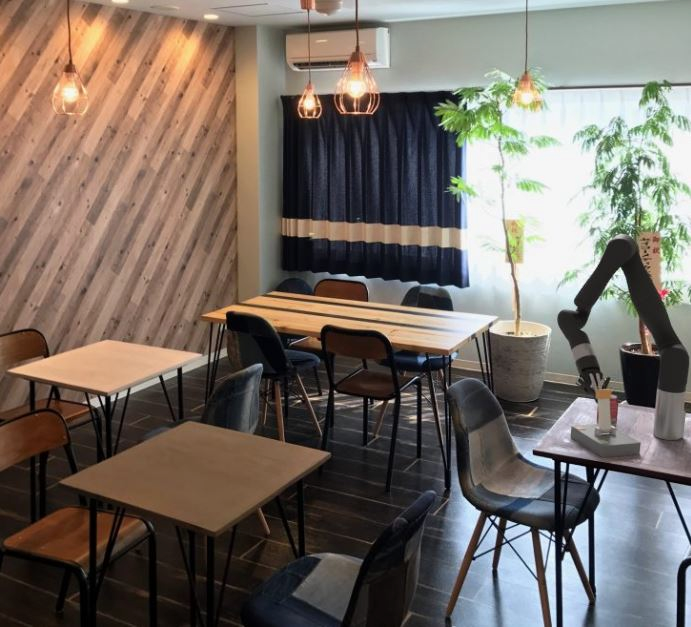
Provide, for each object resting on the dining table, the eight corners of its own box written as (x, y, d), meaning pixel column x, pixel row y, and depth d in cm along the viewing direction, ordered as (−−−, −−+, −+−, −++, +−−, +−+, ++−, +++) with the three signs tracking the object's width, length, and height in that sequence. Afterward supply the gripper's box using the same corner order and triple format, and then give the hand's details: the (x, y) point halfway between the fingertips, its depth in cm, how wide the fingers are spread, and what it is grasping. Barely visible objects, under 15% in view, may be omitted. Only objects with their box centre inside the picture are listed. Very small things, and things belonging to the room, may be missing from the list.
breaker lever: (609, 432, 276) (606, 388, 276) (613, 432, 273) (610, 389, 274) (597, 433, 275) (595, 389, 275) (601, 433, 272) (599, 390, 272)
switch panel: (605, 433, 286) (607, 416, 285) (639, 454, 267) (641, 435, 266) (570, 436, 283) (571, 419, 281) (602, 457, 264) (603, 439, 262)
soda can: (600, 423, 298) (603, 391, 295) (619, 427, 293) (622, 395, 291) (592, 427, 292) (595, 396, 290) (611, 432, 288) (614, 400, 286)
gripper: (573, 354, 280) (588, 399, 271) (606, 353, 283) (623, 397, 274) (564, 365, 286) (579, 409, 277) (597, 363, 289) (613, 407, 280)
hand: (601, 403), depth 275 cm, fingers closed
